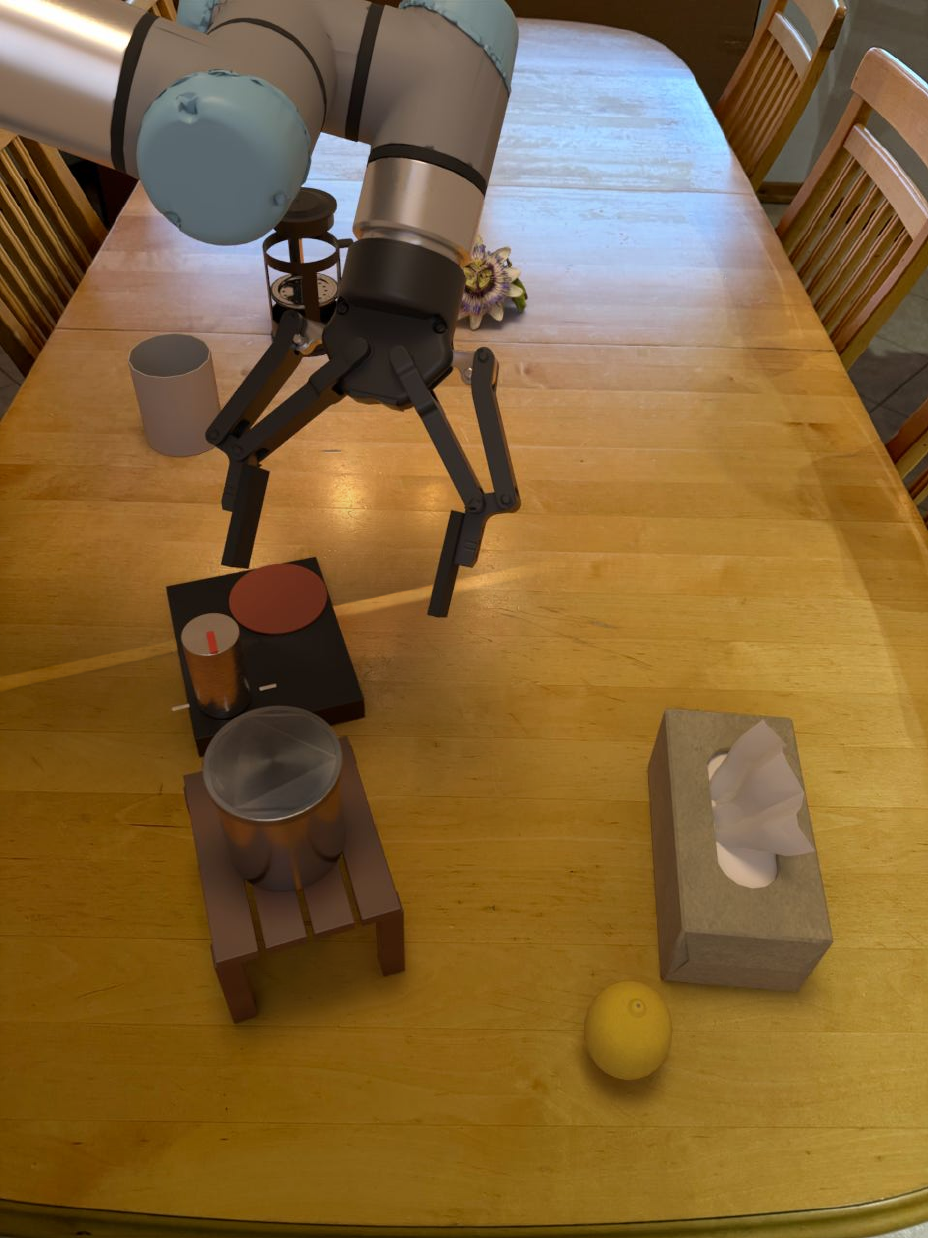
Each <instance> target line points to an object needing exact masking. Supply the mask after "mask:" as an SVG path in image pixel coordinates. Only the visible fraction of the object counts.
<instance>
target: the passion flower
mask: <svg viewBox="0 0 928 1238" xmlns="http://www.w3.org/2000/svg"><path fill="white" fill-rule="evenodd" d="M486 248H487V246H486V245H485V243H484V239H483V237H482V236H481V234H479V233H477V237H476V241H475V246H474V250H473V254H472V258H471V261H470V263H469V264H468V265H467V266H465V267H463V268H462V270H463V271H464V274H465V276H466V278H467V281H466V286H465V290H464V294H463V299H462V303H461V307H460V312H459V316H458V321H457V322H460V321H462V320H463V319H464V320H465V319H466V320H467V322H468V326H469V328H470V330H471V331H475V330H476V329H478V328H479V327H480V325H481V322H482V320H483V317H484V316H485V315H486V314H488V315H489V316H490V317H491V319H493V320H494V321H497V322H499V323H500V322H501V321H502V320H503V318H504V313H505V312H504V305H506V301H505V300H506V299H507V298H508V299H509V298H510V300H511V301H512V302H513V303H514V305H515V307H516V309H517V311H518V312H519V313H523V312H524V310H525V309H526V306H527V303H526V301H528V299H529V296H528V293H527V291H526V288H525V286H524V284H523V281H521V279H520V278H519V277H520V276H521V273H522V272H521V270H520V269H519V268H517V267H515V266H513V263H512V261H511V259H510V258H509V256H511V253H512V248H511V247H510V246H505V247H500V248H498V249H496V250H495V251H492V252H491V251H490V250H487V251H486ZM505 262H506V265H505ZM512 266H513V267H512Z"/></svg>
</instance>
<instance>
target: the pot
mask: <svg viewBox="0 0 928 1238" xmlns="http://www.w3.org/2000/svg"><path fill="white" fill-rule="evenodd" d="M338 737H339V736H338V734H337V733H336V731H335V730H334V728H332V726H330V725H328V724H327V723H326V722H325V721H324V720H323V719H321V718H320V717H319V716H317V715H315V714H313V713H311V712H309V711H306V710H304V709H300V708H296V707H290V706H268V707H263V708H258V709H255V710H251V711H249V712H246V713H244V714H242V715H240V716H238V717H236V718H234V719H233V720H231V721H230V722H228V723H227V724H226V725H225V726H223V727H222V728H221V729H220V730H219V731H218V732H217V733H216V735H215V736H214V737H213V739H212V740H211V742H210V743H209V745H208V747H207V749H206V752H205V755H204V757H202V758H203V759H202V763H201V771H202V777H203V781H204V785H205V789H206V792H207V794H208V796H209V798H210V800H211V801H212V802H213V804H214V805H215V806H216V808H217V812H218V816H219V819H220V823H221V826H222V830H223V834H224V837H225V841H226V845H227V848H228V852H229V855H230V859H231V862H232V864H233V866H234V868H235V869H236V871H237V872H238V873H239V874H240V875H241V877H242V878H244V879H245V882H247V883H249V884H251V886H252V885H254V886H256V887H259V888H261V889H265V890H269V891H278V892H285V891H293V890H296V891H297V890H302V888H304V887H307V886H309V885H311V884H313V883H315V882H317V881H318V880H320V879H321V878H323V877H324V876H325V875H326V874H327V873H328V872H329V871H330V870H331V869H332V868H333V867H334V866H335V864H336V863H337V861H338V862H339V859H340V858H341V857H342V854H341V853H342V851H343V848H344V844H345V825H344V815H343V805H342V795H341V785H340V778H341V775H342V769H343V755H342V748H341V744H340V742H339V739H338Z"/></svg>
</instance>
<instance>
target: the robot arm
mask: <svg viewBox="0 0 928 1238" xmlns="http://www.w3.org/2000/svg"><path fill="white" fill-rule="evenodd" d="M519 40H520V28H519V24H518V20H517V18H516V15H515V13H514V11H513V10H512V8H511V7H510V6H509V4H508V3H507V2H506V0H402V1H401V2H400V3H399V4H398V7H394V6H391V5H387V4H385V5H381V4H378V3H375V2H371V1H368V0H178V7H177V13H176V20H175V21H173V20H170V19H167V18H166V17H162V16H160V15H158V14H154V13H152V12H149V11H148V10H146V9H145V8H141V7H139V6H136V5H135V4H133V3H132V4H131V3H129V2H126V1H124V0H0V129H1V130H4V131H6V132H9V133H12V134H14V135H17V136H20V137H23V138H26V139H28V140H32V141H34V142H37V143H40V144H43V145H45V146H47V147H51V148H53V149H56V150H59V151H62V152H65V153H67V154H70V155H73V156H75V157H79V158H82V159H84V160H87V161H90V162H93V163H96V164H98V165H100V166H103V167H106V168H109V169H112V170H115V171H117V172H119V173H122V174H125V175H127V176H130V177H132V178H134V179H136V180H138V181H140V183H141V186H142V187H143V189H144V192H145V193H146V196H147V198H148V199H149V201H150V203H151V204H152V206H153V207H154V208H155V209H156V210H157V211H158V212H159V213H160V214H162V216H163V217H164V218H166V220H167V221H168V222H170V224H172V225H173V226H174V227H175V228H177V229H178V231H179V232H181V233H182V234H184V235H186V236H188V237H189V238H191V239H194V240H196V241H199V242H202V243H204V244H208V245H212V246H213V245H214V246H218V247H219V246H221V247H222V246H223V247H230V246H240V245H247V244H249V243H252V242H255V241H257V240H259V239H261V238H263V237H265V236H266V235H267V234H269V233H270V232H272V230H274V229H273V228H274V227H275V226H276V225H277V224H278V223H279V222H280V221H281V219H282V218H283V217H284V215H285V214H286V212H287V210H288V209H289V207H290V205H291V203H292V201H293V200H294V199H295V198H296V197H297V195H298V193H299V190H300V188H301V187H303V185H304V184H306V182H307V180H308V177H309V174H310V171H311V166H312V156H313V153H314V150H315V148H316V146H317V142H318V140H319V138H320V136H321V133H322V134H326V135H329V136H333V137H336V138H337V137H338V138H340V139H344V140H346V141H350V142H354V143H362V144H365V145H369V146H370V150H369V155H368V158H367V163H366V168H365V172H364V176H363V181H362V184H361V189H360V193H359V197H358V202H357V206H356V209H355V213H354V214H355V215H354V219H353V222H352V228H351V231H352V233H353V236H354V237H355V238H356V240H354V243H353V244H351V245H350V246H349V247H348V248H347V250H346V255H345V259H344V265H343V269H342V272H341V282H340V287H339V291H338V296H337V299H336V301H337V302H336V309H335V312H334V315H333V317H332V318H331V320H330V321H329V322H328V323H327V322H326V324H325V323H322V322H321V323H319V322H316V321H313V320H309V319H306V318H304V317H303V316H301V315H300V314H299V313H298V312H297V311H295V310H293V309H289V310H286V311H285V312H284V313H283V315H282V317H281V320H280V323H279V326H278V329H277V332H276V335H275V338H274V341H273V342H271V344H270V345H269V346H268V347H267V349H266V350H265V352H264V353H263V355H262V356H261V357H260V359H258V361H257V362H256V364H255V365H254V367H252V369H251V370H250V372H249V373H248V375H246V377H245V378H244V379H243V381H242V382H241V383H240V385H239V387H237V389H236V390H235V391H234V393H233V394H232V395H231V396H230V398H229V399H228V401H227V402H226V403H225V404H224V406H223V408H221V411H220V413H219V414H218V415H217V417H216V418H215V419H214V421H213V422H212V423H211V425H210V426H209V427H208V429H207V430H206V432H205V438H206V440H207V442H208V443H210V444H212V445H214V446H215V447H214V448H217V449H219V450H220V451H221V452H223V453H224V454H225V455H226V456H227V458H228V469H227V474H226V478H225V482H224V487H223V492H222V496H221V501H220V503H221V509H222V511H225V512H230V513H231V517H230V520H229V524H228V529H227V534H226V539H225V543H224V548H223V551H222V552H223V553H222V557H221V561H220V565H221V566H225V567H228V568H234V569H246V570H250V565H251V559H252V555H253V551H254V546H255V542H256V536H257V534H258V529H259V524H260V519H261V515H262V511H263V505H264V501H265V497H266V493H267V487H268V482H269V478H270V475H271V471H270V470H267V469H265V468H262V467H263V464H261V463H262V462H263V461H264V460H265V459H267V457H269V456H270V455H271V454H272V453H274V452H275V451H276V450H278V449H279V448H280V447H281V446H282V445H284V444H285V443H286V442H287V441H288V440H290V439H291V438H292V437H293V436H295V435H296V434H297V433H299V432H300V431H301V430H302V429H303V428H305V427H306V426H307V425H308V424H309V423H311V422H312V421H314V419H316V418H317V417H319V416H320V415H321V414H322V413H323V412H325V411H326V410H327V409H328V408H329V407H331V406H333V405H337V404H338V403H340V402H341V401H342V400H344V399H345V398H346V397H347V396H348V397H349V398H351V399H352V400H353V401H355V402H356V403H358V404H364V405H368V406H372V405H383V406H384V407H387V408H388V409H390V410H392V411H397V412H401V413H404V412H405V411H407V410H410V409H412V408H414V410H415V412H416V413H417V415H418V417H419V418H420V420H421V422H422V424H423V426H424V428H425V430H426V432H427V434H428V436H429V437H430V440H431V441H432V443H433V446H434V448H435V449H436V452H437V454H438V455H439V457H440V459H441V462H442V464H443V465H444V468H445V469H446V471H447V473H448V475H449V477H450V479H451V481H452V483H453V486H454V487H455V490H456V491H457V493H458V495H459V497H460V499H461V501H462V503H463V505H464V506H463V508H464V512H462V511H460V510H459V511H458V510H453V509H450V512H449V517H448V522H447V526H446V530H445V535H444V538H443V544H442V547H441V552H440V556H439V560H438V563H437V564H438V565H437V569H436V572H435V573H436V574H435V578H434V582H433V586H432V591H431V595H430V599H429V603H428V608H427V612H426V616H429V617H433V618H437V619H443V618H445V619H446V618H448V617H449V613H450V609H451V608H450V607H451V603H452V599H453V595H454V591H455V587H456V583H457V582H456V581H457V578H458V575H459V574H458V573H459V569H460V566H461V567H465V568H468V569H469V568H470V569H473V568H474V566H476V564H477V563H478V560H479V556H480V552H481V547H482V542H483V539H484V534H485V530H486V525H487V523H488V521H489V519H491V518H492V517H494V516H497V515H503V514H514V513H515V514H516V513H517V512H518V511H519V510H520V509H521V506H522V499H521V496H520V491H519V487H518V482H517V479H516V473H515V469H514V467H513V461H512V457H511V452H510V449H509V445H508V443H509V442H508V440H507V434H506V431H505V425H504V422H503V417H502V414H501V410H500V409H501V408H500V405H499V401H498V396H497V389H498V382H499V381H498V380H499V371H500V363H499V361H498V359H497V357H496V355H495V354H494V352H493V351H492V349H490V348H489V347H487V346H480V347H478V348H477V349H476V350H475V351H473V350H459V349H455V346H454V337H455V333H456V329H457V325H458V322H459V321H458V316H459V312H460V307H461V303H462V299H463V294H464V290H465V286H466V281H467V278H466V276H465V274H464V271H463V270H462V268H463V267H465V266H467V265H468V264H469V263H470V261H471V258H472V254H473V250H474V246H475V241H476V237H477V234H479V227H480V223H481V220H482V215H483V211H484V206H485V200H486V196H487V191H488V187H489V183H490V179H491V175H492V171H493V166H494V162H495V158H496V154H497V150H498V146H499V143H500V138H501V134H502V130H503V125H504V122H505V117H506V112H507V108H508V105H509V101H510V97H511V94H512V81H513V76H514V69H515V64H516V59H517V53H518V49H519V48H518V47H519V42H520V41H519ZM321 343H322V344H323V346H324V349H325V351H326V354H325V355H327V359H328V361H327V362H325V363H324V364H323V365H322V366H320V367H319V368H318V369H317V370H316V371H314V372H313V373H312V374H311V375H310V376H309V378H308V380H307V382H306V383H304V385H302V386H301V387H300V388H298V389H297V390H296V391H295V392H293V393H292V394H291V395H290V396H289V397H287V398H286V399H285V400H284V401H283V402H281V403H280V404H279V405H278V406H276V407H275V408H274V409H273V410H271V411H270V412H269V413H268V414H267V415H265V416H264V417H263V418H262V419H261V420H259V422H257V421H258V419H259V418H260V417H261V415H262V414H263V413H264V411H266V409H267V408H268V407H269V405H270V404H271V403H272V402H273V400H274V399H275V397H276V396H277V394H278V393H279V392H280V391H281V389H282V388H283V387H284V386H285V384H286V383H287V381H288V380H289V379H290V378H291V376H292V375H293V374H294V372H295V371H296V370H297V368H298V367H299V365H300V364H301V362H302V360H303V358H304V357H305V356H304V355H306V354H310V353H311V352H312V351H313V350H314V348H315V347H316V346H317V345H318V344H321ZM454 370H455V371H458V372H459V373H460V380H462V383H463V384H464V385H465V386H466V387H467V388H469V389H470V391H471V392H470V393H471V397H472V402H473V407H474V411H475V415H476V419H477V423H478V428H479V432H480V437H481V440H482V445H483V450H484V454H485V457H486V463H487V467H488V472H489V476H490V479H491V483H492V484H491V485H492V488H493V491H492V492H485V490H484V488H483V487H482V484H481V482H480V481H479V478H478V477H477V475H476V473H475V470H474V469H473V467H472V465H471V463H470V460H469V459H468V457H467V455H466V453H465V451H464V449H463V447H462V445H461V443H460V441H459V439H458V437H457V435H456V433H455V431H454V429H453V427H452V425H451V423H450V421H449V420H448V419H449V418H448V417H447V414H446V412H445V409H444V408H443V405H442V404H441V402H440V400H439V398H438V396H437V394H436V392H435V389H436V388H437V387H438V386H439V385H440V384H441V383H442V382H444V381H445V380H446V379H447V378H448V377H449V376H450V375H451V374H452V373H453V372H454Z"/></svg>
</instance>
